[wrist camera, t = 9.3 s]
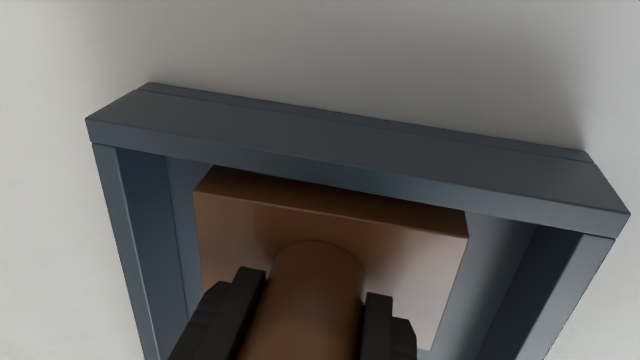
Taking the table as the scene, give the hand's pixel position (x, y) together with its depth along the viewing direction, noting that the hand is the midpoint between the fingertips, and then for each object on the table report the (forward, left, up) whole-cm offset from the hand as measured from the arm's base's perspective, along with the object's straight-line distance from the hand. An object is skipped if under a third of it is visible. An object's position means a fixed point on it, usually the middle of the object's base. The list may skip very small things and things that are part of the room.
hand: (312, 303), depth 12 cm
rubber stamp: (0, 0, -4) cm, 4 cm away
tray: (+7, 0, -5) cm, 8 cm away
